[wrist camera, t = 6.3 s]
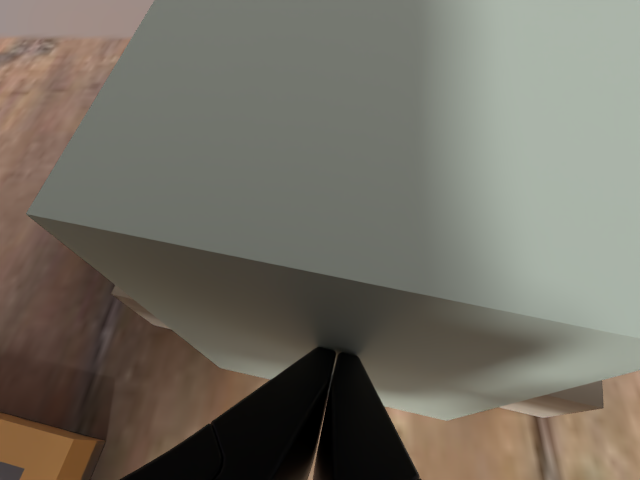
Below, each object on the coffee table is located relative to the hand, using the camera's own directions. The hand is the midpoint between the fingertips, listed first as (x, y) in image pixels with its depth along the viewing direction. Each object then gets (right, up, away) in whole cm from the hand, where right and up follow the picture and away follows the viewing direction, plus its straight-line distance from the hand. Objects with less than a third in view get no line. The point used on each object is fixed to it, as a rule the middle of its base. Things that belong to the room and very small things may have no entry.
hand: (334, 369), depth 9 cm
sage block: (+1, +1, +8) cm, 8 cm away
